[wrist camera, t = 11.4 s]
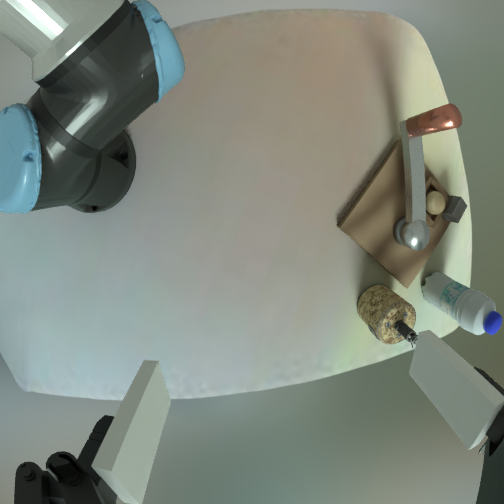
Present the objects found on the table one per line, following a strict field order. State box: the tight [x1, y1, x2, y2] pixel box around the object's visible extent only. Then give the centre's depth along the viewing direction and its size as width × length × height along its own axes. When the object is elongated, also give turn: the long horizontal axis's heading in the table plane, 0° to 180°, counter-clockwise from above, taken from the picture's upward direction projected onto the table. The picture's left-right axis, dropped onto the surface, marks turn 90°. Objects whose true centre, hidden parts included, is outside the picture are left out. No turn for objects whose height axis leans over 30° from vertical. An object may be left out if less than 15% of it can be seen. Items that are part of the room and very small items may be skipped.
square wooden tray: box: [337, 140, 467, 288], centre depth 40 cm, size 18×19×6 cm
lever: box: [400, 104, 462, 251], centre depth 31 cm, size 21×5×12 cm, turn 4°
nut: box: [426, 191, 445, 214], centre depth 39 cm, size 4×4×4 cm
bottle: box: [422, 272, 502, 335], centre depth 36 cm, size 7×7×20 cm
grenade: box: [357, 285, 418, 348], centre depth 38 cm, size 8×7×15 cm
